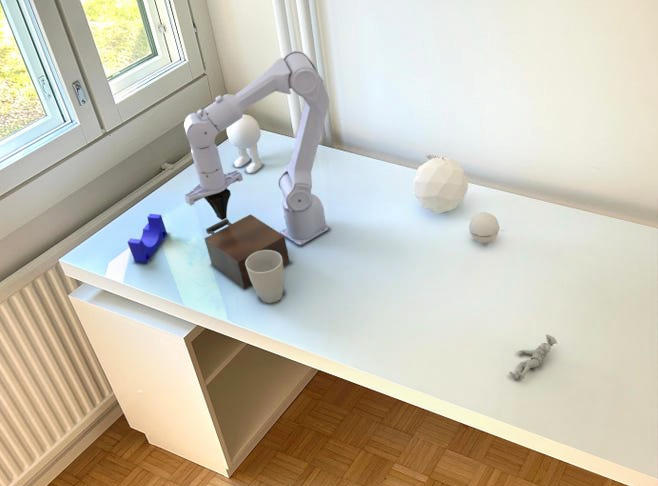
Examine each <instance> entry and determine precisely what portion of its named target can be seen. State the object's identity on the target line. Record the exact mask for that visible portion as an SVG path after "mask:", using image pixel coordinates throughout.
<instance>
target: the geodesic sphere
mask: <svg viewBox="0 0 658 486" xmlns="http://www.w3.org/2000/svg"><path fill="white" fill-rule="evenodd" d="M425 157H426V158H427V159H428V161H426V162H425V163H423V164H421V165H420V166H418V167H417V171H416V173H415V176H414V179H413V182H412V185H413V192H414V193H413V194H414V196H415V197H416V199H417V200H418V202H419V203H420V204H421V206H422V207H423V208H424V209H426V210H429V211H431V212H434V213H436V214H441V213H445V212H449V211H452V210H454V209H455V208H457V207H458V206H460V205H461V204H462V203H463V202H464V199H465V197H466V194H467V191H468V189H469V183H468V178H467V174H466V172H465V171H464V168H463V167H461V165H460V164H459V163H458V161H456V160H453V159H451V158H449V157H446V156H444V155H442V156H436V155H434V154H428V155H425Z"/></svg>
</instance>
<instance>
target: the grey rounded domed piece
mask: <svg viewBox="0 0 658 486" xmlns="http://www.w3.org/2000/svg"><path fill="white" fill-rule="evenodd" d="M468 230H469V234H470V236H471V237H472V239H473V240H475V241H476V242H477V243H483V244H484V243H485V244H487V243H489V242H492V241H493V240H494V239H495V238H497V236H498V233H499V232H503V230H502V229H501V230H500V224H499V221H498V219H497V217H496V216H495V215H493V214H492V213H490V212H487V211H483V212H479V213H477V214H475V215H474V216H473V217H472V218H471V220H470V221H469V225H468Z"/></svg>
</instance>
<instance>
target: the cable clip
mask: <svg viewBox="0 0 658 486" xmlns="http://www.w3.org/2000/svg"><path fill="white" fill-rule="evenodd" d="M146 217H147V223H146V224H145V226H144V227H143V228H142V233H141V237H140V239H139V238H129V240H128V241H127V245H128V248H129V250H130V253H131V255H132V258H133V262H134V263H141V264H148V262H149V261H150V259H151V258H152V256H153V255H154V254H155V252H156V251H157V249H159V247H160V245H162V243H163V241H164V240H165V239H166V237H167V236H168V232H167V229H166V226H165V223H164V220H163V217H162V214H156V213H149V214H148V215H147V216H146Z"/></svg>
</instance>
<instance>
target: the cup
mask: <svg viewBox="0 0 658 486" xmlns="http://www.w3.org/2000/svg"><path fill="white" fill-rule="evenodd" d="M245 265H246V268H247V271H248V274H249V277H250V280H251V282H252V284H253V285H252V286H253V288H254V290H255V292H256V294H257V295H258V297H259V298H260V300H261V301H263V302H264V303H268V304H271V303H276V302H279V301H280V300H281V299H282V297H283V295H284V289H285V270H284V266H283V261H282V256H281V255H280V254H279V253H278V252H276V251H272V250H262V251H258V252H255V253H253V254H251V255H250V256H249V257H248V258H247V259H246V262H245Z"/></svg>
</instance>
